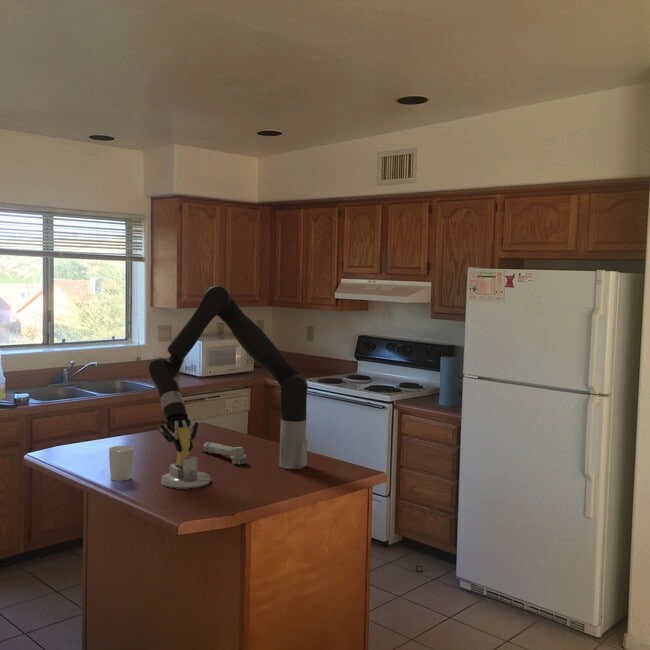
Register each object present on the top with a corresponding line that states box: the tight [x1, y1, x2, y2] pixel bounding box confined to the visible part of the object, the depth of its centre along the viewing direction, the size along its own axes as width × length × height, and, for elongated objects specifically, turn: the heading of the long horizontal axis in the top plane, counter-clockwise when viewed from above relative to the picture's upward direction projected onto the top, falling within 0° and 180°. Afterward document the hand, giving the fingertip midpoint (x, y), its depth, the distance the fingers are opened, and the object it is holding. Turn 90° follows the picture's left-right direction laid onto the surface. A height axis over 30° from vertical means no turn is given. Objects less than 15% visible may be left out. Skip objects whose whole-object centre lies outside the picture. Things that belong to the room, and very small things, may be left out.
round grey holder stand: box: [160, 456, 212, 490], centre depth 228 cm, size 16×16×9 cm
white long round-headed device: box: [201, 441, 247, 465], centre depth 260 cm, size 5×7×25 cm
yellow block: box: [176, 427, 191, 466], centre depth 230 cm, size 5×3×12 cm, turn 32°
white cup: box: [108, 445, 135, 482], centre depth 229 cm, size 8×8×10 cm
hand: (185, 450), depth 228 cm, fingers closed on yellow block, 3 cm apart
